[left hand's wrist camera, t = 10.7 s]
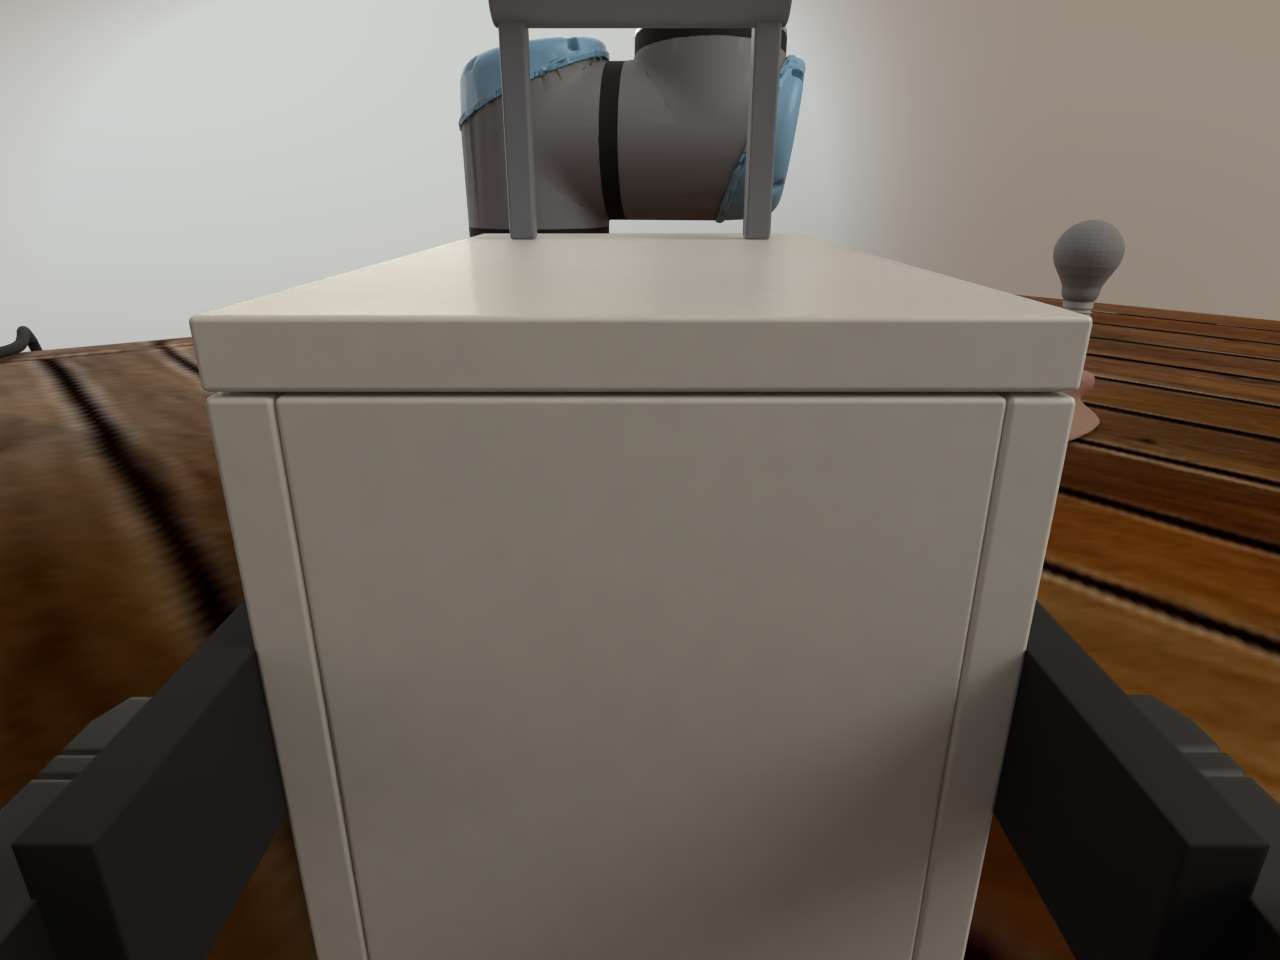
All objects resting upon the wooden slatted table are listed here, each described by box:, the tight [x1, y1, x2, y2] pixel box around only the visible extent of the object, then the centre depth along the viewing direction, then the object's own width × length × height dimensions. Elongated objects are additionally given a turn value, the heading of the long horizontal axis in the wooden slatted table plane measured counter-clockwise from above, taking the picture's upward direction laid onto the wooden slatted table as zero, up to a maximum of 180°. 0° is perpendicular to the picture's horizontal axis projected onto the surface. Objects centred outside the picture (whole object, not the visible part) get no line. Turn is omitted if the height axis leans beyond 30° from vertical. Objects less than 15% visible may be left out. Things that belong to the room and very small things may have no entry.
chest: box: [206, 392, 1075, 960], centre depth 19 cm, size 17×10×11 cm, turn 0°
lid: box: [189, 0, 1092, 392], centre depth 16 cm, size 17×10×8 cm, turn 0°
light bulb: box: [1053, 220, 1125, 317], centre depth 76 cm, size 6×6×10 cm
